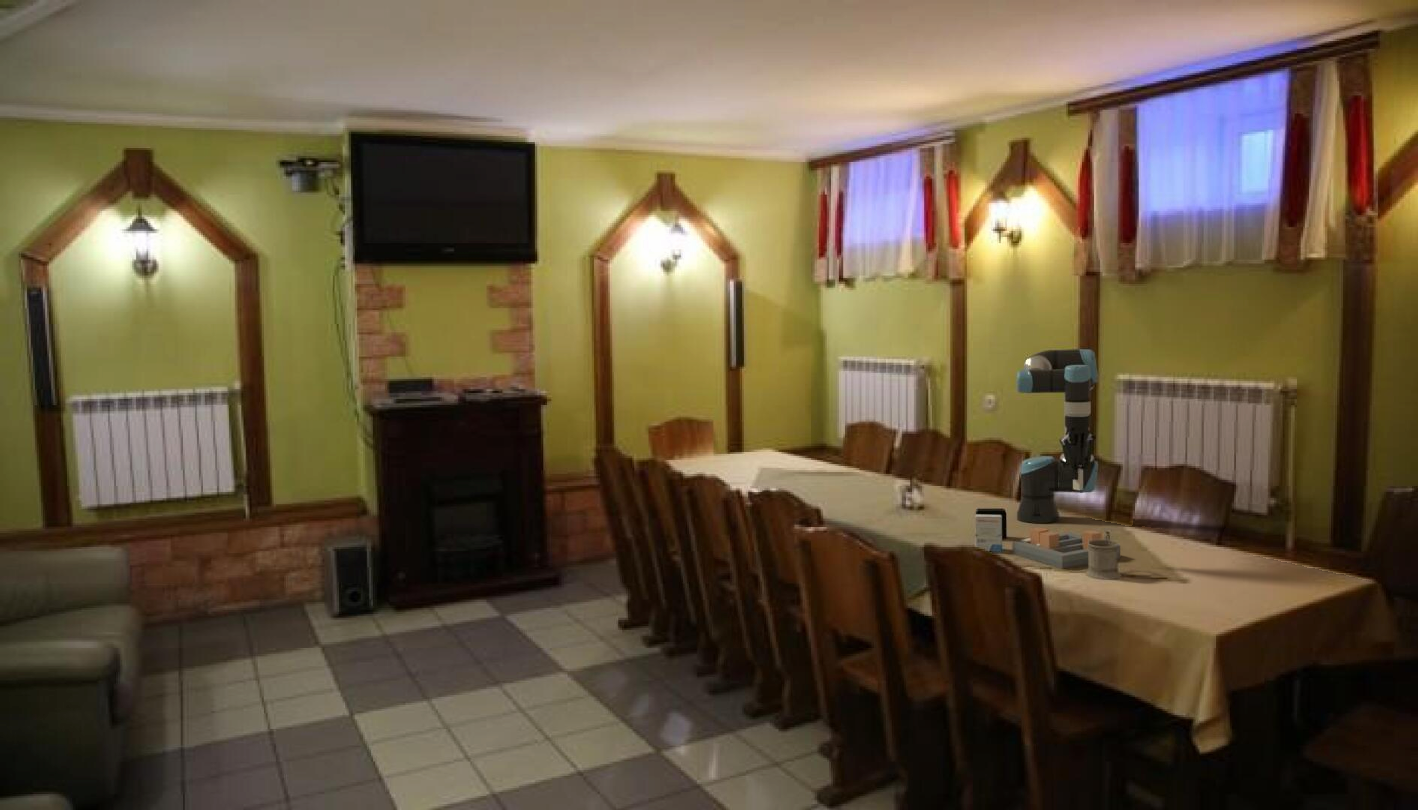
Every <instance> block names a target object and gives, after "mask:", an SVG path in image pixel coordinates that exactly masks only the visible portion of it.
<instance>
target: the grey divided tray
mask: <svg viewBox="0 0 1418 810" xmlns="http://www.w3.org/2000/svg"><path fill="white" fill-rule="evenodd" d="M1058 534H1059V547H1058V548H1052V549H1047V548H1044V547H1040V544H1037V545H1033V544H1030V538H1024V539H1020V540H1015V541H1012V545H1011V546H1012V547H1011V548H1012V555H1015V556H1019V557H1021V558H1025V559H1029V560H1031V561H1035V562H1039V563H1042V564H1045V565H1047V566H1052V567H1054V568H1058V569H1061V570H1064V569H1070V568H1074V567H1079V566H1085V565H1086V566H1087V565H1089V551H1088V549H1083V550H1082V535H1081V534H1077V533H1073V532H1070V531H1068V532H1062V533H1058ZM1118 559H1121V545H1120V544H1119V546H1118Z"/></svg>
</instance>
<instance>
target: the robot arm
mask: <svg viewBox="0 0 1418 810" xmlns="http://www.w3.org/2000/svg"><path fill="white" fill-rule="evenodd" d="M1022 368H1023V369H1020V370H1018V371H1017V373H1016V390H1017V392H1018V393H1020V394H1041V393H1042V394H1045V393H1046V394H1047V393H1048V394H1049V393H1050V394H1051V393H1052V394H1057V393H1059V394H1061V393H1063V410H1064V411H1063V417H1064V420H1063V423H1064V424H1063V428H1064V430H1063V433H1064V437H1063V438H1062V437H1061V438H1060V439H1059V442H1060V444H1061V447H1062V454H1060V457H1059V460H1055V458H1054V457H1053V456H1052V455H1050V456H1049V455H1048V456H1046V455H1042V456H1035V457H1034V456H1033V457H1030V458H1026V459H1024V460H1023V461H1022V462H1021V465H1020V466H1021V467H1020V468H1021V469H1020V470H1021V471H1020V476H1021V478H1020V479H1021V485H1020V486H1021V487H1020V488H1021V490H1020V491H1021V498H1020V503H1019V507H1018V509H1017V511H1016V520H1018V521H1019V522H1024V523H1030V524H1031V523H1032V524H1050V523H1055V522H1058V521H1060V513H1059V511H1058V506H1057V504H1056V501H1055V493H1077V494H1079V493H1080V494H1084V493H1085V494H1086V493H1092V492H1094V490H1095V489H1096V485H1097V479H1098V471H1099V462H1098V461H1097V460H1094V459H1095V457H1094V455H1093V454H1092V453H1093V448H1094V443H1095V441H1096V438H1097V437H1096V435H1094V434H1091V433H1090V428H1091V425H1092V424H1091V416H1090V414H1091V412H1092V411H1091V410H1092V409H1091V407H1092V405H1091V401H1092V400H1091V390H1092V389H1094V387H1095V383H1097V382H1099V374H1098V369H1097V368H1098V367H1097V360H1096V354H1095V352H1094V351H1093V350H1092V349H1082V348H1079V349H1078V348H1073V349H1048V350H1043V351H1040V352H1037V353H1035V354H1033V355H1031V356H1029V357H1028V358H1026V360H1025V361H1024V363H1023V367H1022Z"/></svg>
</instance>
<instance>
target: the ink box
mask: <svg viewBox="0 0 1418 810" xmlns="http://www.w3.org/2000/svg"><path fill="white" fill-rule="evenodd" d="M974 539H975V540H974V545H975V547H980V548H983V549H985V550H990V551H992V552H991V553H1002V552H1003V539H1002V515H981V514H976V513H975V516H974ZM975 547H974V548H975Z"/></svg>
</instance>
